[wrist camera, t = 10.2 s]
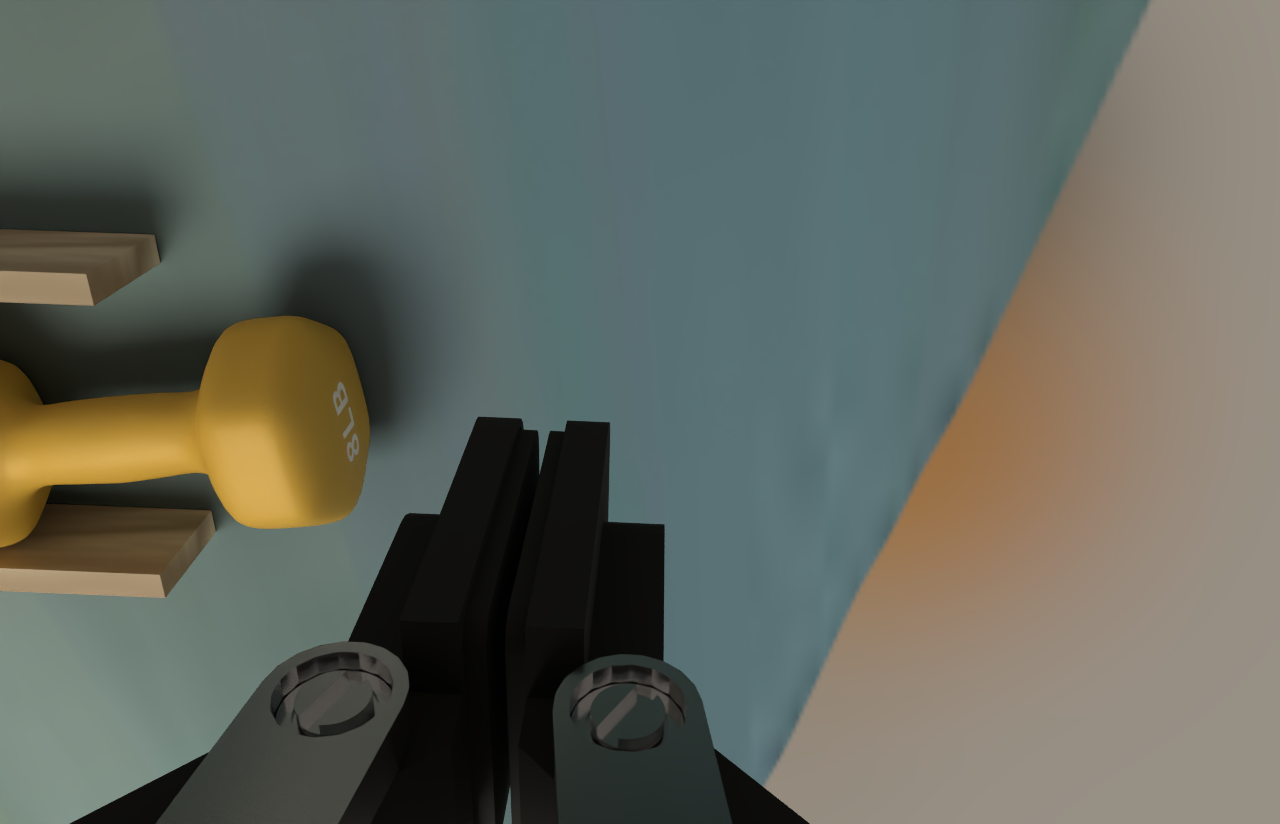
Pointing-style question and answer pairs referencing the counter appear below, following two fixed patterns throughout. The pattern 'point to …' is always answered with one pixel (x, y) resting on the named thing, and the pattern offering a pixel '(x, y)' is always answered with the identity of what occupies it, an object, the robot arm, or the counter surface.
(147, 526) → the display bracket
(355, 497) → the dumbbell
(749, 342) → the counter surface
